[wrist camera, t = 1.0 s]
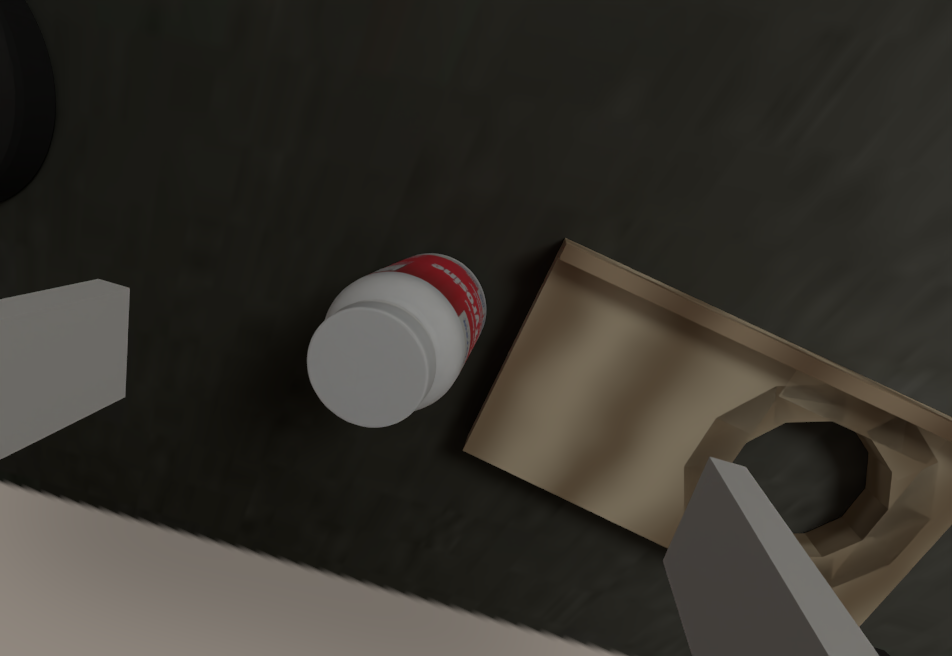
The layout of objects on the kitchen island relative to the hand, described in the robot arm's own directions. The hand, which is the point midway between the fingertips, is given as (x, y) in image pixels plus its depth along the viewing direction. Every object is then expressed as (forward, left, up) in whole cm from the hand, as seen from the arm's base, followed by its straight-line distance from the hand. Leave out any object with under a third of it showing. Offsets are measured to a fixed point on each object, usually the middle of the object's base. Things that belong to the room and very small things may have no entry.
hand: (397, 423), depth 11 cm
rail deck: (+15, -3, -18) cm, 23 cm away
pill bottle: (-2, -3, -18) cm, 18 cm away
